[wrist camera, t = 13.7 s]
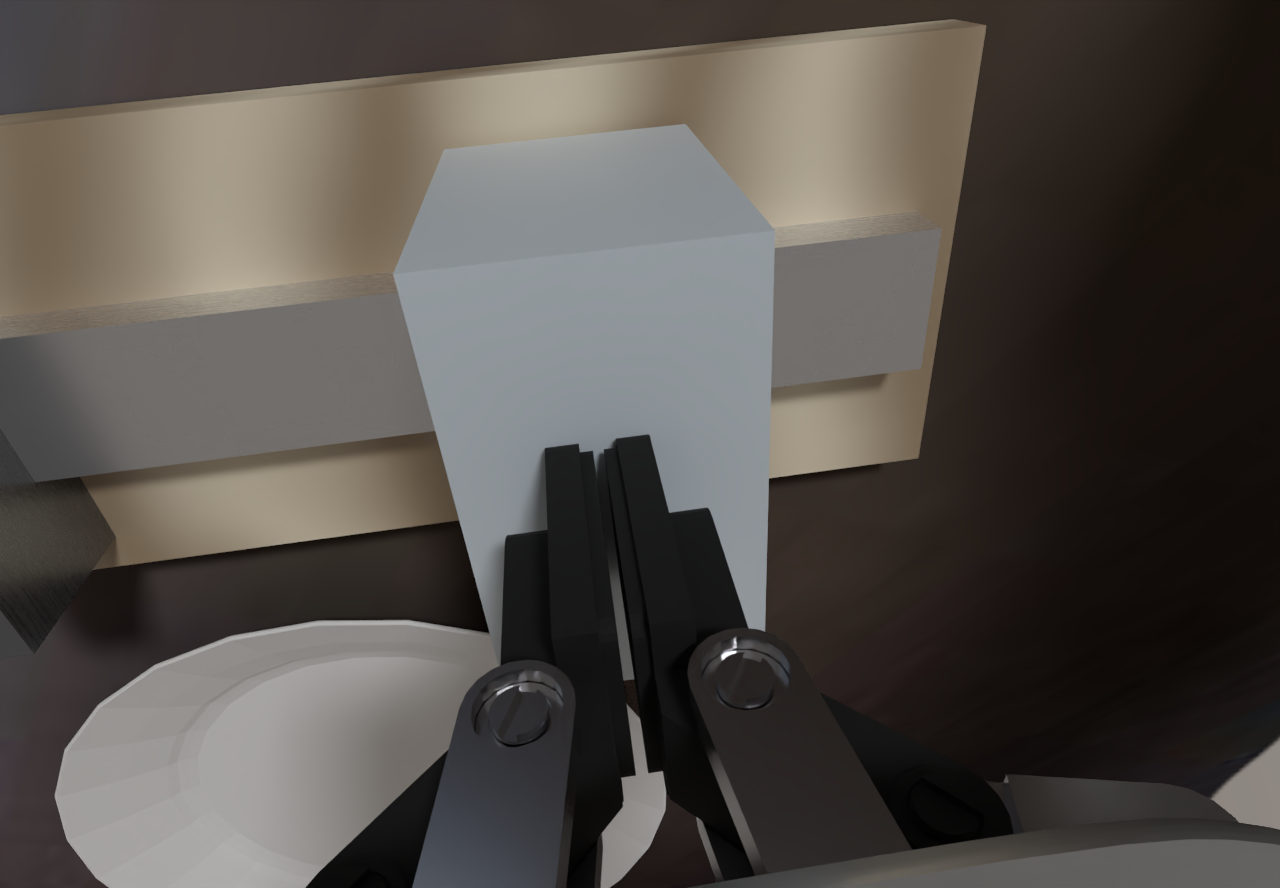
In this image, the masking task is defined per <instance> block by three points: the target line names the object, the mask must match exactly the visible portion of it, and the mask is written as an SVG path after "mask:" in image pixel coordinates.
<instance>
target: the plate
mask: <svg viewBox="0 0 1280 888" xmlns="http://www.w3.org/2000/svg"><path fill="white" fill-rule="evenodd" d="M496 667H499V666H498V662H497V659H496V655H495V651H494V647H493V644H492V640H491V636H490V633H486V632H480V631H474V630H468V629H461V628H455V627H449V626H443V625H437V624H431V623H424V622H418V621H412V620H324V621H312V622H307V623H301V624H295V625H290V626H284V627H278V628H272V629H267V630H261V631H255V632H249V633H244V634H238V635H232V636H229V637H226V638H224V639H221V640H218V641H216V642H213V643H210V644H208V645H205V646H202V647H200V648H197V649H195V650H192V651H189V652H187V653H184V654H181V655H179V656H176V657H174V658H171V659H168V660H166V661H163V662H160V663H158V664H155V665H154V666H152V667H151V668H150V669H148V670H147V671H145V672H144V673H142V674H141V675H140V676H138V677H137V678H135V679H134V680H132V681H131V682H130V683H128V684H127V685H125V686H124V687H122V688H121V689H120V690H118V691H117V692H115V693H114V694H112V695H111V696H110V697H108V698H107V699H105V700H104V701H102V702H101V703H100V704H98V706H97V707H96V708H95V710H94V711H93V712H92V714H91V715H90V716H89V718H88V719H87V720H86V722H85V723H84V724H83V726H82V727H81V728H80V730H79V731H78V732H77V734H76V735H75V736H74V738H73V739H72V740H71V742H70V743H69V744H68V746H67V747H66V748H65V751H64V755H63V760H62V764H61V769H60V774H59V778H58V783H57V787H56V792H55V799H56V803H57V806H58V810H59V814H60V817H61V821H62V824H63V828H64V832H65V835H66V839H67V841H68V842H69V844H70V845H71V846H72V847H73V849H74V850H75V851H76V853H77V854H78V855H79V857H80V858H81V859H82V860H83V862H84V863H85V864H86V866H87V867H88V868H89V870H90V871H91V872H92V873H93V875H94V876H95V877H96V878H97V879H98V880H99V881H101V882H102V883H103V884H105V885H106V886H107V887H109V888H306V886H307V885H308V884H309V883H310V882H311V880H312V879H313V878H314V877H315V876H316V875H317V873H318V872H319V871H320V870H322V869H323V868H324V867H325V866H326V865H327V864H328V863H329V862H330V861H331V860H332V859H333V858H334V857H335V856H336V855H337V854H338V853H339V852H341V851H342V850H343V849H344V848H345V847H346V846H347V845H348V844H349V843H350V842H351V841H352V840H353V839H354V838H355V837H356V836H357V835H358V834H360V833H361V832H362V831H363V830H364V829H365V828H366V827H367V826H368V825H369V824H370V823H371V822H372V821H373V820H374V819H375V818H376V817H377V816H378V815H380V814H381V813H382V812H383V811H384V810H385V809H386V808H387V807H388V806H389V805H390V804H391V803H392V802H393V801H394V800H395V799H396V798H397V797H399V796H400V795H401V794H402V793H403V792H404V791H405V790H406V789H407V788H408V787H409V786H410V785H411V784H412V783H413V782H414V781H415V780H416V779H418V778H419V777H420V776H421V775H422V774H423V773H424V772H425V771H426V770H427V769H428V768H429V767H430V766H431V765H432V764H433V763H434V762H435V761H436V760H438V759H439V758H440V757H441V756H442V755H443V754H444V753H445V752H446V751H447V750H448V749H449V746H450V742H451V738H452V734H453V730H454V726H455V723H456V719H457V715H458V711H459V708H460V705H461V703H462V701H463V699H464V696H465V694H466V692H467V691H468V690H469V689H470V688H471V687H472V685H473V684H474V683H475V682H476V681H477V680H478V679H479V678H480V677H482V676H483V675H485V674H486V673H487V672H489V671H490V670H492V669H494V668H496ZM627 711H628V718H629V726H630V733H631V741H632V748H633V756H634V764H635V771H636V776H630V777H623V778H621V779H622V788H623V797H624V802H623V807H622V809H621V810H620V811H619V812H618V814H617V815H616V816H615V817H614V819H613V820H612V821H611V822H610V824H609V825H608V826H607V827H606V829H605V830H604V831H603V832H602V841H603V857H602V873H601V888H610V887H611V886H613V885H614V884H615V883H617V882H618V881H619V880H621V879H622V878H623V877H624V876H625V874H626V873H627V872H628V871H629V870H630V869H631V868H632V866H633V865H634V864H635V863H636V862H637V861H638V860H639V858H640V857H641V856H642V855H643V854H644V853H645V852H646V851H647V849H648V848H649V847H650V845H651V843H652V840H653V838H654V836H655V833H656V831H657V829H658V826H659V824H660V822H661V819H662V817H663V815H664V812H665V810H666V788H665V782H664V776H663V771H660V772H654V773H648V769H647V762H646V755H645V749H644V742H643V735H642V728H641V721H640V718H639V717H638V716H637V715H636V714H635V712H634V711H633V710H632V709H631V708H630V707H629V706H628V705H627Z"/></svg>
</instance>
